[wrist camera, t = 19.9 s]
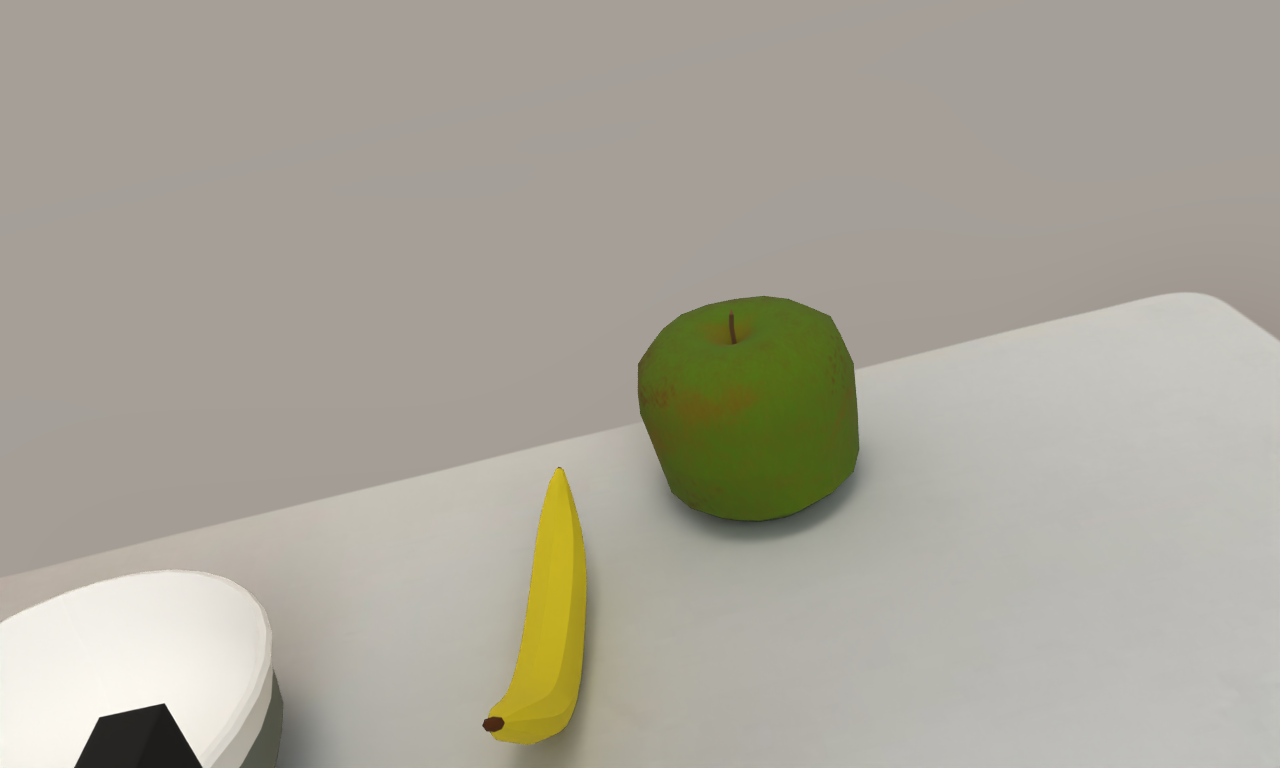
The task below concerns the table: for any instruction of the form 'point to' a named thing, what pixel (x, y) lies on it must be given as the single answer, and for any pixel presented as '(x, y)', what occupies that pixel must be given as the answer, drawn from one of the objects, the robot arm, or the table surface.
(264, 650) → the bowl
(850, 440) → the apple
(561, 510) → the banana
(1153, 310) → the table surface
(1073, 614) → the table surface
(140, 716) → the robot arm
